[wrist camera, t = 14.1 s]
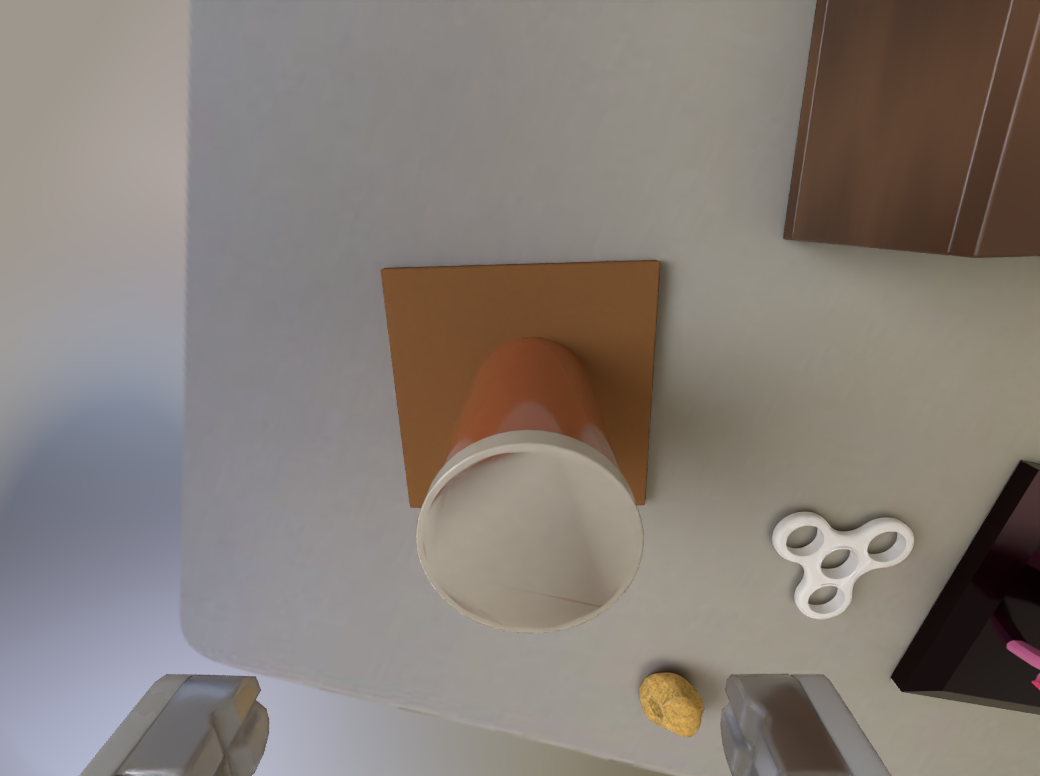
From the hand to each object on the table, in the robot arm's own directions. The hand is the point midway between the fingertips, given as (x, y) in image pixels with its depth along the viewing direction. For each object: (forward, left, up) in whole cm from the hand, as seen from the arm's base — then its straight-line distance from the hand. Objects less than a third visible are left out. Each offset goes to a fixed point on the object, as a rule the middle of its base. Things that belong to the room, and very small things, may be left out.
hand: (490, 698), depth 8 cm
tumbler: (+1, 0, -15) cm, 15 cm away
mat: (0, 0, -16) cm, 16 cm away
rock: (+8, -19, -16) cm, 26 cm away
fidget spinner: (+16, -10, -16) cm, 25 cm away
